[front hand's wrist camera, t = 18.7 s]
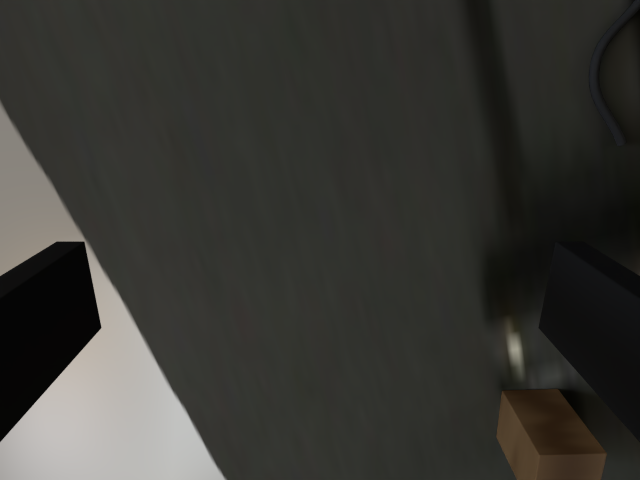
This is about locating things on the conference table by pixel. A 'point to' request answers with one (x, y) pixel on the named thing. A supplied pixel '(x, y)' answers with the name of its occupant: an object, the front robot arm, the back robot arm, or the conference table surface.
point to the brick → (547, 437)
